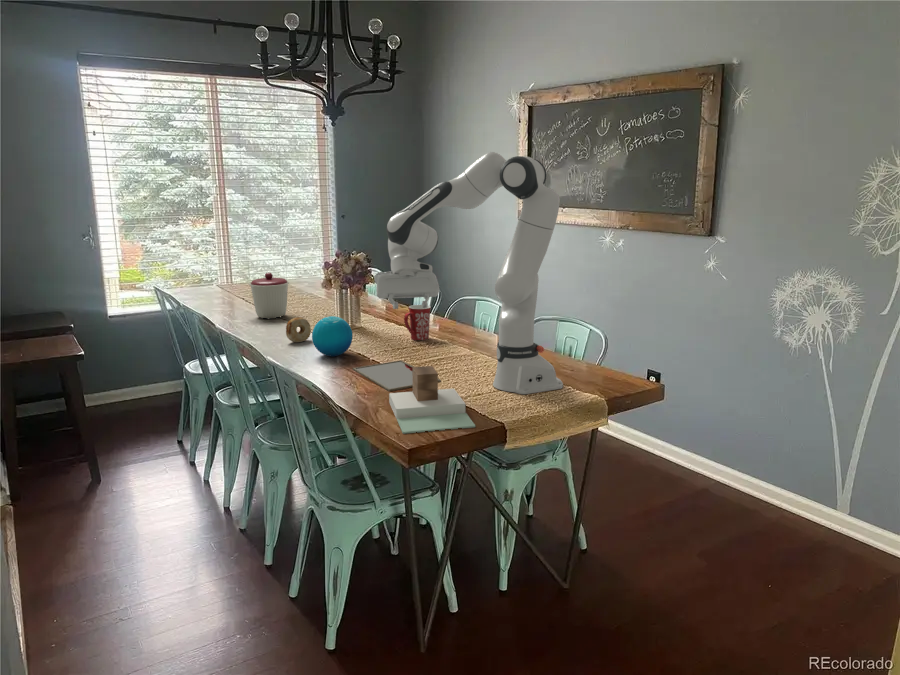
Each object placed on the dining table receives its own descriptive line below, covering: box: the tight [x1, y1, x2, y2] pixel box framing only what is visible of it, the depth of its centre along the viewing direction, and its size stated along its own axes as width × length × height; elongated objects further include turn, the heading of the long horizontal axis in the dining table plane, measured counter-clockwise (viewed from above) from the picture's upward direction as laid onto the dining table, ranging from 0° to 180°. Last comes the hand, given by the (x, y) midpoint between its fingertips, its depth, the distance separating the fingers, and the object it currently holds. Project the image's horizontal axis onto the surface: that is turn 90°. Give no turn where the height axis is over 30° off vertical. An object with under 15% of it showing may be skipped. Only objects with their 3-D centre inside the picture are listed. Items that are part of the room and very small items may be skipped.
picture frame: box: [352, 359, 442, 392], centre depth 231 cm, size 19×1×28 cm
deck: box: [388, 388, 466, 420], centre depth 199 cm, size 20×14×3 cm
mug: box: [403, 304, 432, 341], centre depth 277 cm, size 13×9×14 cm
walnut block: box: [412, 365, 439, 401], centre depth 200 cm, size 6×8×8 cm
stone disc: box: [285, 316, 312, 343], centre depth 274 cm, size 10×4×10 cm, turn 131°
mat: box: [396, 412, 476, 435], centre depth 187 cm, size 20×10×1 cm, turn 103°
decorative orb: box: [311, 315, 353, 357], centre depth 253 cm, size 15×15×15 cm
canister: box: [248, 272, 290, 319], centre depth 318 cm, size 18×18×21 cm
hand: (410, 307), depth 215 cm, fingers open, 8 cm apart
